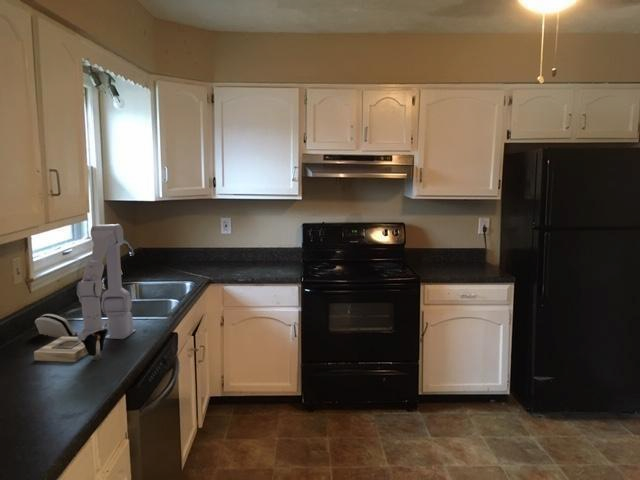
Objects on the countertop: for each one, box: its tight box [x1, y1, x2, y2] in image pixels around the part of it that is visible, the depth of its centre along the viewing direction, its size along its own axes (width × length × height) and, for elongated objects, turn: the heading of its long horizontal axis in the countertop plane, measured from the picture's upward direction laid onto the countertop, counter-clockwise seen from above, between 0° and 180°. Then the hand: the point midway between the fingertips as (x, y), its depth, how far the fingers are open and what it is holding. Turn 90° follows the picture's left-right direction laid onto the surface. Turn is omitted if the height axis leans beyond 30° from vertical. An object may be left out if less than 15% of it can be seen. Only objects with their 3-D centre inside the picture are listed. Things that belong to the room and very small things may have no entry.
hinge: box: [34, 313, 79, 339], centre depth 192 cm, size 17×5×10 cm, turn 64°
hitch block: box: [33, 336, 89, 363], centre depth 175 cm, size 15×15×3 cm
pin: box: [90, 334, 102, 361], centre depth 169 cm, size 4×4×8 cm
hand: (95, 352), depth 169 cm, fingers closed on pin, 3 cm apart
